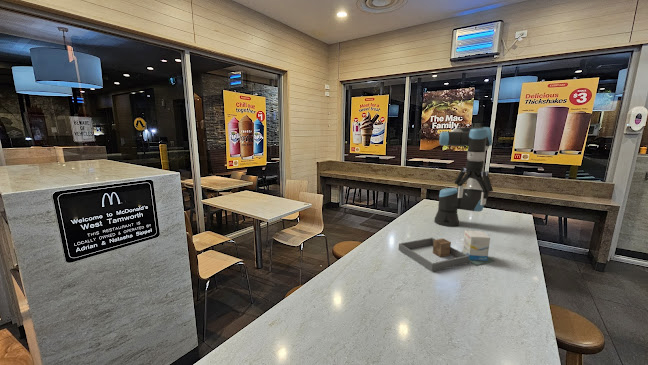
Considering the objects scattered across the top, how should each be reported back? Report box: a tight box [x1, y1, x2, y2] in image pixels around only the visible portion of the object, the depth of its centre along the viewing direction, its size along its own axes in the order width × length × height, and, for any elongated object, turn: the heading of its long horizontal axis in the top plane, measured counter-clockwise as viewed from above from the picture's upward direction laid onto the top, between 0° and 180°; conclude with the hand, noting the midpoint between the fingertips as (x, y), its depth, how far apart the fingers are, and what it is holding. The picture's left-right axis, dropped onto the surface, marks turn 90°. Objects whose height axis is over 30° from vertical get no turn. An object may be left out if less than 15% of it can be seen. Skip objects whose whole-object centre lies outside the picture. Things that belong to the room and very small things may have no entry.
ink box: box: [462, 230, 491, 261], centre depth 130 cm, size 9×8×12 cm
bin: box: [398, 237, 470, 273], centre depth 132 cm, size 24×22×4 cm
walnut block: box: [432, 238, 452, 258], centre depth 134 cm, size 5×6×7 cm
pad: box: [461, 251, 496, 267], centre depth 131 cm, size 12×12×1 cm
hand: (470, 201), depth 139 cm, fingers open, 13 cm apart
